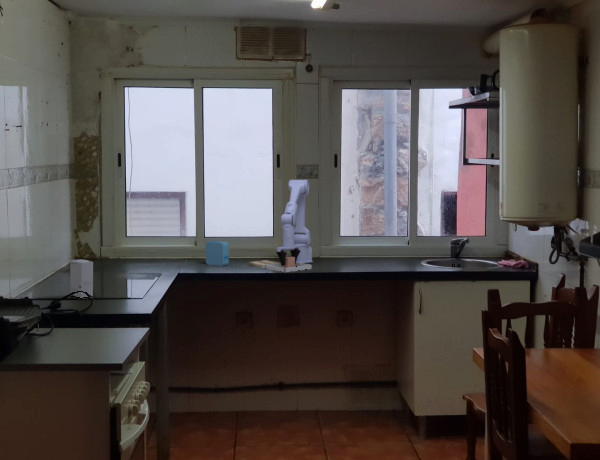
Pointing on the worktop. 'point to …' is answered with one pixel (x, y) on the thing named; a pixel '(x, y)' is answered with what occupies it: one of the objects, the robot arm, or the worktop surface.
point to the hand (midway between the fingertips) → (288, 264)
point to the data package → (217, 253)
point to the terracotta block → (289, 262)
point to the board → (261, 263)
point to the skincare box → (81, 277)
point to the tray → (279, 268)
